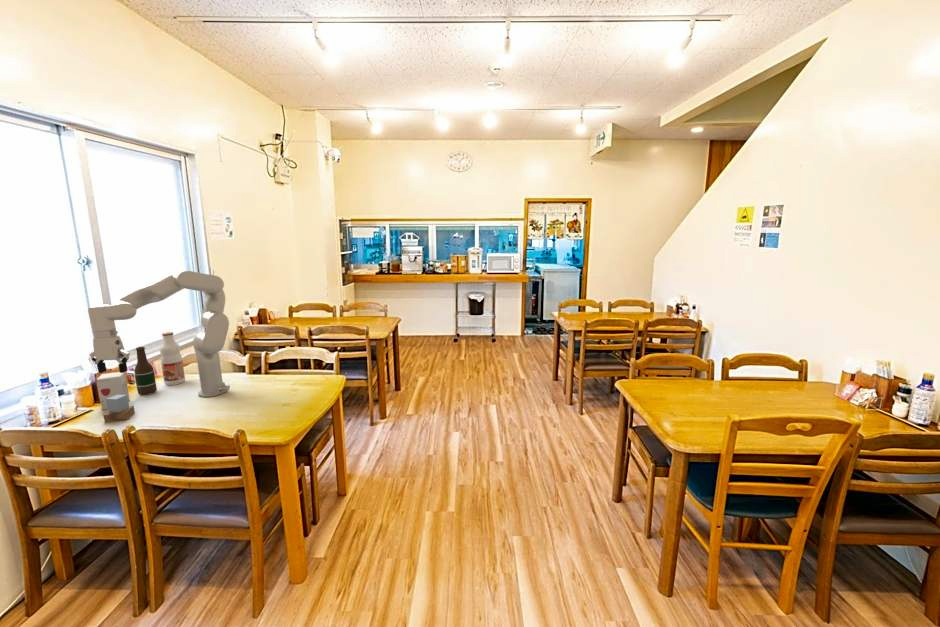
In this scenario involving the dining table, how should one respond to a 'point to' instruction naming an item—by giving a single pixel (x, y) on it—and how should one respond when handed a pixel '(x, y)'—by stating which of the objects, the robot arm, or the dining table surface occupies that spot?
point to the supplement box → (111, 386)
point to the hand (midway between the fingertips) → (113, 372)
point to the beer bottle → (144, 374)
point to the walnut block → (119, 415)
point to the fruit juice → (171, 360)
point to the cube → (117, 403)
